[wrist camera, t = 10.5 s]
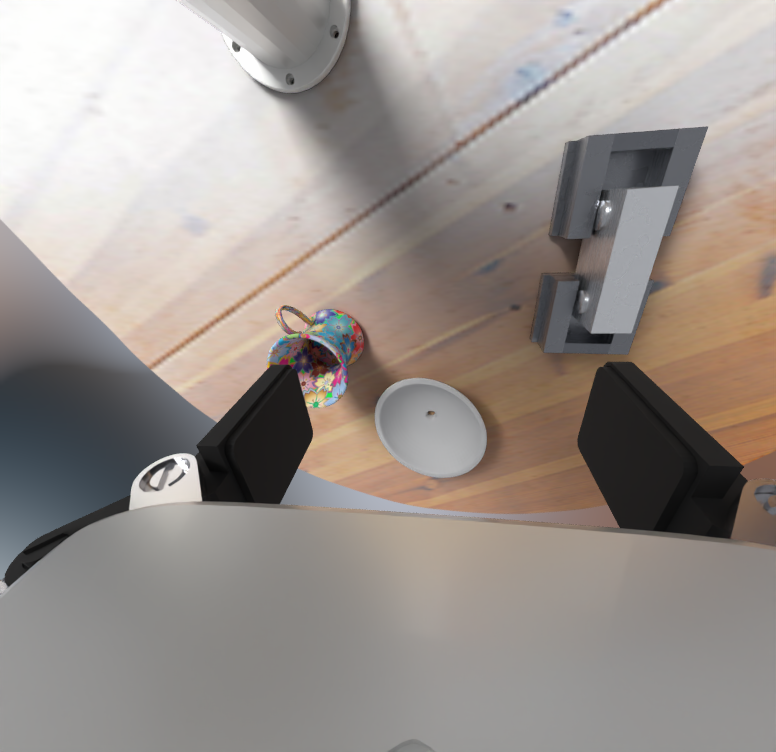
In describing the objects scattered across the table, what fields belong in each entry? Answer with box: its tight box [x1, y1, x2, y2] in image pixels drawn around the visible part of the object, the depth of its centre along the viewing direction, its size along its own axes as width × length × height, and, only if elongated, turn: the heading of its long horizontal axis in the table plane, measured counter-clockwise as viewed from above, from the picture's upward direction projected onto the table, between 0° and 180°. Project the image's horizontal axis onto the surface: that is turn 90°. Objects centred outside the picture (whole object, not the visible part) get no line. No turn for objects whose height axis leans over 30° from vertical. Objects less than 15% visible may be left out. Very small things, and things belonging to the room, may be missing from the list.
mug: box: [267, 305, 364, 408], centre depth 39 cm, size 12×9×11 cm
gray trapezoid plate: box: [572, 186, 679, 333], centre depth 31 cm, size 12×4×7 cm, turn 4°
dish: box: [375, 378, 487, 478], centre depth 46 cm, size 18×14×5 cm
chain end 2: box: [530, 273, 654, 354], centre depth 36 cm, size 8×10×4 cm
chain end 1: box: [549, 127, 708, 239], centre depth 30 cm, size 8×10×4 cm
